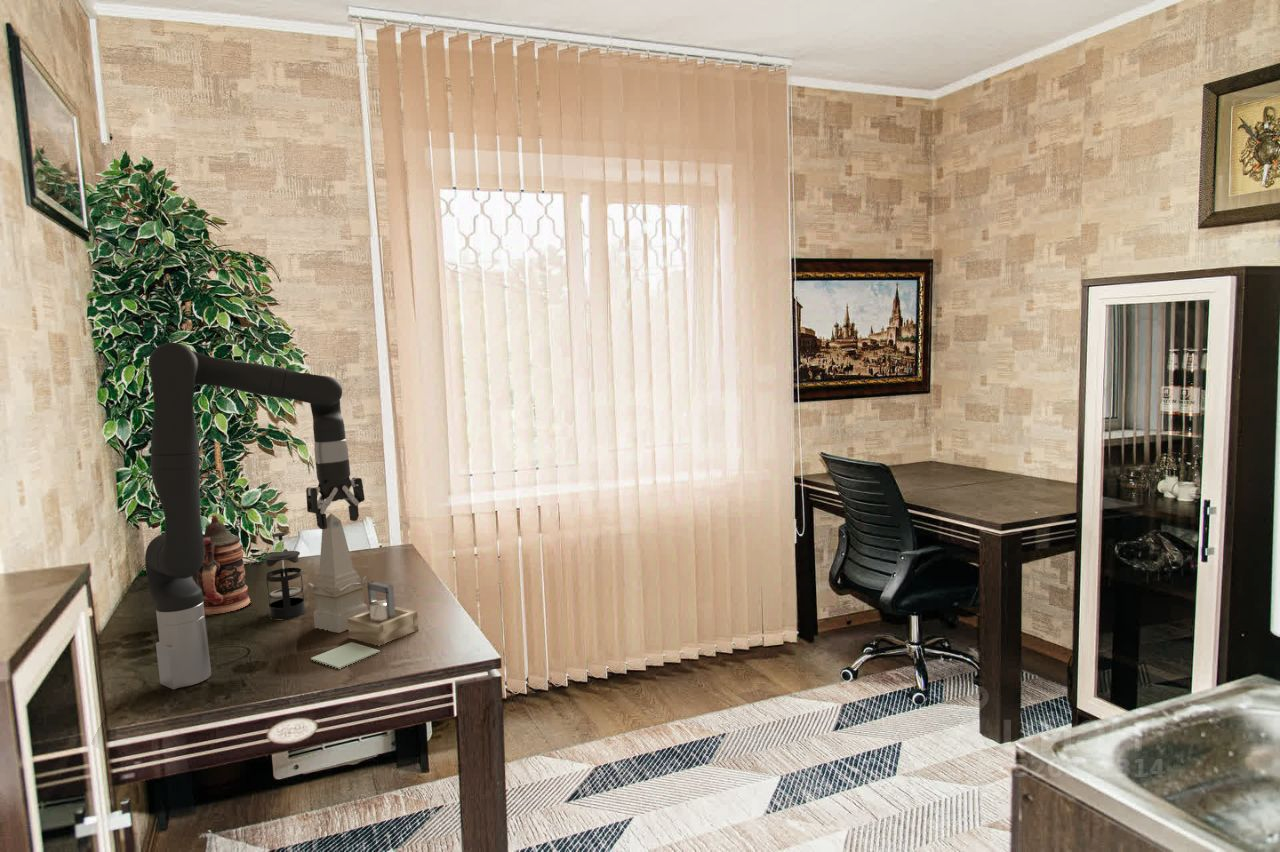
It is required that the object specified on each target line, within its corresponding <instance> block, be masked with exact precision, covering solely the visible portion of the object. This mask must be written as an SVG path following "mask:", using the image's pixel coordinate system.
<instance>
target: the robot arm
mask: <svg viewBox="0 0 1280 852" xmlns="http://www.w3.org/2000/svg"><path fill="white" fill-rule="evenodd" d="M148 369H149V374H150V380H151V385H152V386H151V387H152V396H153V397H152V398H153V419H152V427H151V439H150V472H151V473H150V475H151V479H152V483H153V486H154V489H155V492H156V494H157V497H158V499H159V501H160V505H161V507H162V510H163V514H164V525H165V528H164V530H165V531H164V532H165V533H161V534H159V535H157V536H156V537H154V538H153V539H152V540H151V541H150V542H149V544H148V545H147V547H146V550H145V555H144V562H145V565H144V566H145V572H146V577H147V583H148V588H149V594H150V597H151V598H152V600H153V602H154V606H155V613H156V614H155V615H156V622H157V623H156V624H157V632H158V640H159V641H157V642H156V643H155V649H156V658H157V665H158V666H157V667H158V674H159V675H158V676H159V683H160V685H162V686H164V687H166V688H170V689H172V690H176V689H179V688H185V687H189V686H193V685H196V684H199V683H202V682H204V681H206V680H207V679H209V678H210V677H211V676H212V668H211V667H212V666H211V660H210V659H211V657H210V651H209V641H208V632H207V623H206V615H205V612H204V602H203V593H202V590H201V588H200V587H199V586H198V583H196V581H195V579H194V578H193V577H194V575H196V574H197V572H198V570H199V569H200V568H201V566H202V564H203V561H204V556H205V548H204V540H203V537H204V534H203V527H202V525H203V524H202V517H201V492H200V488H201V486H200V468H201V467H200V466H201V465H200V460H201V459H200V458H201V457H200V441H199V434H198V429H197V428H198V427H197V423H196V418H195V412H194V411H195V410H194V395H195V385H201V386H202V385H204V386H211V387H212V386H213V387H220V388H221V387H222V388H228V389H233V390H237V391H241V392H246V393H250V394H255V395H259V396H265V397H269V398H277V399H283V400H294V401H295V400H296V401H298V402H303V403H307V404H310V405H309V406H310V409H311V415H312V423H313V424H312V428H313V430H312V431H313V437H314V438H313V440H314V461H315V469H316V479H317V481H318V486H315V487H311V486H310V487H309V486H308V487H307V488H306V490H305V492H306V496H305V497H306V511H307V512H308V513H312V514H315V517H316V526H317V527H318V528H319V530H322V529H327V521H326V518H327V514H326V513H325V512H326V511H327V508H328V507H329V506H331V503H334V502H337V501H341V500H345V502H347V504H348V516H349V520H350V521H351V522H356V521H358V520H359V519H358V518H359V515H360V514H359V513H360V512H359V504H360V503H361V502H363V503H364V501H365V492H364V491H365V490H364V486H363V480H362V478H361V477H352V478H351V479H350V476H351V468H350V467H351V465H350V457H349V448H348V444H347V439H346V438H347V437H346V429H345V423H344V418H343V416H342V410H341V399H342V396H343V387H342V385H341V384H340V382H339V381H338V380H337V379H336V378H334V377H331V376H328V375H320V374H313V373H307V372H306V373H305V372H298V371H296V370H293V369H290V368H289V369H288V368H282V367H279V366H273V365H266V364H261V363H260V364H259V363H253V362H252V363H251V362H242V361H234V360H226V359H222V358H217V357H213V356H209V355H206V354H203V353H202V352H201V353H200V352H197V351H195V350H192V349H191V348H189V347H188V346H187V345H185V344H182V343H178V342H165V343H162V344H160V345H158V346H157V347H155V349H154V350H152V352H151V354H150V355H149V359H148ZM351 487H352V490H353V492H351V490H350V489H351ZM319 493H320V495H319ZM318 496H319V498H318Z"/></svg>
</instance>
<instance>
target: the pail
mask: <svg viewBox="0 0 1280 852" xmlns="http://www.w3.org/2000/svg"><path fill="white" fill-rule="evenodd" d="M366 587H367V593H368V594H367V597H368V607H369V608H368V609H369V610H368V611H370V621H371V622H375V623H378V624H380V623H382V622H385V621H387V620H390V619H393V618H395V593H394V592H395V591H394V585H390V584H387V583H382V582H376V581H373V580H372V581H368V583H367V586H366ZM377 592H378V593H383V594H385V599H382V600H377Z"/></svg>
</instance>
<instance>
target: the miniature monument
mask: <svg viewBox="0 0 1280 852" xmlns="http://www.w3.org/2000/svg"><path fill="white" fill-rule="evenodd" d="M326 521H327V529H321V543H320V558H319V571H318V573H319V574H318V575H317V576H316V580H315V581H314V583H310V582H309V583H307V590H308V594H311V595H314V600H315V608H316V609H315V610H314V611H313V612H312V613H313V622H314V628H315V629H317V628H319V629H318V630H322V629H324V630H323V631H327V630H328V632H332V633H338V634H340V633H343V632H345V631H347V630H348V618H350V617H353V616H356V615H359V614H362V613H364V612H367V611H369V610H368V609H369V608H368V607H369V605H368V604H366V603H365V602H364V601H365V600H364V592H363V589H364V588H366V587H367V583H369V581H368V580H369V579H368V575H366V576H364V577H362V579H361V576H360V575H359V574H358V571H357V570H355V567H354V564H353V561H352V557H351V552H350V549H349V546H348V542H347V541H348V540H347V538H346V535H345V531H344V528H343V523H342V521H341V519H340V518H338V517H337V516H336V515H334V514H333V513H329V515H328V516H326ZM348 631H349V630H348Z"/></svg>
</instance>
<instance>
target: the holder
mask: <svg viewBox="0 0 1280 852" xmlns="http://www.w3.org/2000/svg"><path fill="white" fill-rule="evenodd" d="M418 618H419V617H418V611H417V610H412V609H408V608H405V607H400V606H395V618H393V619H390V620H387V621H385V622H382V623H380V624H378V623H375V622H371V621H370V610H368V611H367V612H364V613H362V614H359V615H356V616H353V617H350V618H348V637H349V639H352V640H355V639H356V641H359V642H362V641H363V643H366V642H367V643H366V644H369V643H371V644H370V645H372V644H375V645H374V646H376V645H378V646H377V647H381V646H380V645H382V644H384V645H386V644H385V643H387V642H389V641H392V640H394V639H397V638H399V637H401V638H403V637H402V636H404V635H406V636H408V635H407V634H409V633H411V632H414V631H416V632H418V631H419V619H418ZM417 630H418V631H417ZM414 633H415V632H414ZM411 634H412V633H411ZM409 635H410V634H409ZM404 637H405V636H404ZM399 639H400V638H399ZM397 640H398V639H397ZM394 641H395V640H394ZM392 642H393V641H392ZM389 643H390V642H389ZM387 644H388V643H387ZM382 646H383V645H382Z"/></svg>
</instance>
